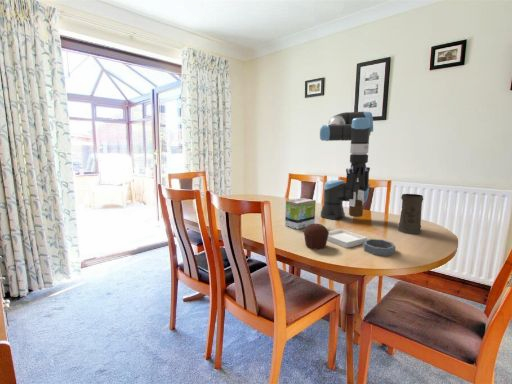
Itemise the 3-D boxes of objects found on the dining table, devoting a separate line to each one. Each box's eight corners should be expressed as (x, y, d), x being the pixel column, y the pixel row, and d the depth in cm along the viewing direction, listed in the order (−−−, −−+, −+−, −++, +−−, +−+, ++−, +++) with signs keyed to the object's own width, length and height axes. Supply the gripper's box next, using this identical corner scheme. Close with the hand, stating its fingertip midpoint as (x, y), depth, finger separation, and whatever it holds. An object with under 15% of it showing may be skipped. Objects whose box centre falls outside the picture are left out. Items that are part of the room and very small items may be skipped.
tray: (320, 238, 136) (320, 233, 136) (340, 233, 143) (340, 228, 143) (346, 248, 122) (346, 242, 122) (367, 242, 129) (367, 237, 129)
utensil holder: (355, 217, 123) (357, 191, 121) (345, 214, 128) (346, 189, 126) (365, 216, 125) (367, 190, 123) (354, 213, 131) (356, 188, 129)
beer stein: (424, 235, 140) (427, 195, 138) (401, 233, 142) (404, 195, 140) (413, 228, 155) (416, 193, 153) (393, 227, 157) (395, 192, 155)
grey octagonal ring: (357, 248, 122) (358, 242, 121) (375, 243, 128) (375, 237, 127) (382, 257, 112) (382, 250, 111) (400, 252, 118) (400, 245, 117)
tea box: (298, 229, 150) (298, 203, 148) (284, 225, 157) (285, 200, 155) (315, 224, 160) (316, 199, 157) (301, 221, 167) (302, 197, 165)
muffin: (313, 240, 133) (314, 219, 132) (333, 246, 125) (334, 224, 123) (297, 245, 125) (298, 224, 124) (317, 252, 117) (318, 229, 116)
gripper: (352, 154, 114) (349, 209, 118) (379, 153, 124) (375, 204, 128) (338, 154, 121) (336, 206, 125) (365, 153, 130) (362, 201, 134)
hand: (356, 205), depth 126 cm, fingers closed on utensil holder, 5 cm apart
